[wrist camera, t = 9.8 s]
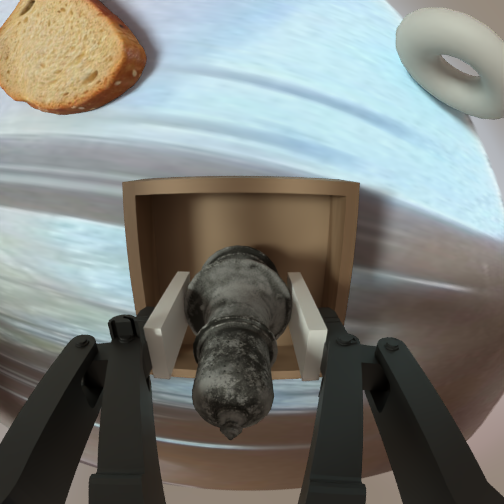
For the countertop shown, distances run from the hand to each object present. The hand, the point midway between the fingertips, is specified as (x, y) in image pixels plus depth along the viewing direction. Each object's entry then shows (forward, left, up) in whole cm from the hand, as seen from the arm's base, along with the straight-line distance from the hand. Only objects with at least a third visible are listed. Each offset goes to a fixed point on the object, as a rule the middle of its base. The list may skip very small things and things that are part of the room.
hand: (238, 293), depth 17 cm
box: (0, 0, -4) cm, 4 cm away
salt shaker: (0, 0, -2) cm, 2 cm away
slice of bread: (-16, +21, -4) cm, 27 cm away
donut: (+15, +16, -4) cm, 22 cm away
